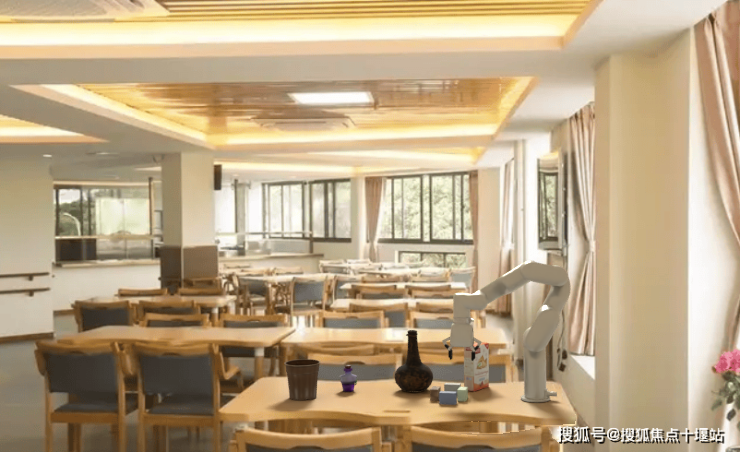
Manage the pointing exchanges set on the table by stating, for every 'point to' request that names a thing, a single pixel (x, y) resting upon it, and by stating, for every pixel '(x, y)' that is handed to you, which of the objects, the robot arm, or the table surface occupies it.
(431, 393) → the walnut brick
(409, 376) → the glass bottle
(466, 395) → the sage brick
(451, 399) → the blue block
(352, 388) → the potion bottle
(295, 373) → the plant pot
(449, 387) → the slate brick
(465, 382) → the cracker box
